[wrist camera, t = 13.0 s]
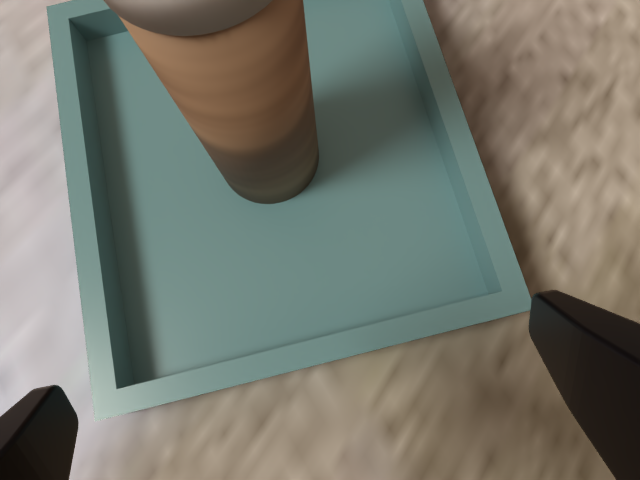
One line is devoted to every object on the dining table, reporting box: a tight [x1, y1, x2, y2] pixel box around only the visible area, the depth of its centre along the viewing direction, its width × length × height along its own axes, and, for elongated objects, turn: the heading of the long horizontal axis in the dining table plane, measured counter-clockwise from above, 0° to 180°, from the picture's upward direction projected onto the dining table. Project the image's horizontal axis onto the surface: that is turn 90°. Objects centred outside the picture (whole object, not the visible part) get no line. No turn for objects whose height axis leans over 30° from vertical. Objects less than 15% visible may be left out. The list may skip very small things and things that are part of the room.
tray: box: [47, 0, 531, 421], centre depth 22 cm, size 20×18×2 cm
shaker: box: [103, 0, 319, 204], centre depth 16 cm, size 5×5×14 cm
